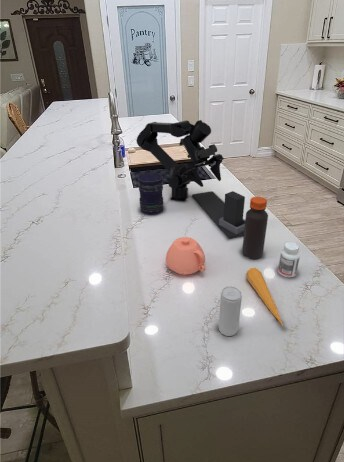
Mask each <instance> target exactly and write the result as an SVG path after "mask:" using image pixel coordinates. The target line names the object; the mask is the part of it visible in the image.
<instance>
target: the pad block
mask: <svg viewBox="0 0 344 462" xmlns="http://www.w3.org/2000/svg"><path fill="white" fill-rule="evenodd" d="M245 201H246V196H245V195H243V194H240V193H238V192H236V191H234V190H232V191H229V192H227V193H224V201H223V202H224V217H223V220H225V221H226V222H228V223H230V224H232V225H233V226H235V227H239V226H241V225H242V223H243V219H244V212H245Z"/></svg>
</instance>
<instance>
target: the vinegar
mask: <svg viewBox="0 0 344 462" xmlns="http://www.w3.org/2000/svg"><path fill="white" fill-rule="evenodd" d="M267 204H268V200H267V198H265V197H263V196H253V197H251V198H250V201H249V209H248V210H247V211H246V212H245V219H244V220H245V229H244V236H243V239H242V251H241V253H242V255H243V256H244V257H246V258H248V259H251V260H257V259H260V258H262V257H263V255H264V250H265V242H266V235H267V227H268V221H269V220H268V219H269V213H268V212H267V211H266V210H267Z"/></svg>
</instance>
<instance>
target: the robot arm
mask: <svg viewBox="0 0 344 462" xmlns="http://www.w3.org/2000/svg"><path fill="white" fill-rule="evenodd" d="M158 133H159V134H160V133H161V134H170V136H172V137H175V138H180V141H179V143H178V145H179V146H180V147H182V146H184V149H185V151H186V152H187V156H186V157H187V158H188V159H190V161H189V162H186V163H180V164H179V163H177V162H176V161H175V160H174V159H173V158H172V157H171V155H169V154H168V153H167V152H166V151H165V149H163V148H162V146H160V145H159V143H158V138H157V137H158V136H159V134H158ZM211 134H212V127H211V126H210V125H209V124H208V123H206V122H204V121H202V119H199V120H197V121H195V124H194V123H193V124H192V123H191V122H190V121H189V120H188V119H187V120H182V121H176V122H159V121H158V122H157V121H152V122H149V123H147V124H146V125H145V126H144V128H143V129H142V130H141V131H140V132H139V133H138V135H137V136H136V141H135V142H136V144H137V146H138V147H139V148H140V149H141V150H144V151H146V152H149V153H150V154H151V155H152V156H153V157H154V158H155V159H156V160H157V161H158V162H159V163H160V164H161V165H162V166H163V167H164V168H165V169H166V170H167V171H168V172H169V177H170V179H169V180H168V181H167V184H168V187H170V188H171V197H170V200H171V201H179V202H185V201H187V199H188V197H189V187H188V185H189V184H191V181H193V182H194V183H195V184H197V185H198V186H199V187H200V188H203V187H204V183H203V181H202V178H201V177H200V175H199V172H198V169H200V168H203V167H206V166H208V167H210V168H209V170H210V172H211V173H212V174H213V175H214V177H215V178H216V180H217V181H218V182H221V181H222V177H221V176H222V174H221V164H222V163H223V161H224V157H223V155H222V154H221V153H218V154H216V153H217V152H218V148H217V146H216V144H214V143H213V144H209V145H208V147H207V148H205V147H204V146H201V144H200V143H203V142H204V141H205V140H206V139H207V138H208V137H209V136H210V135H211ZM182 137H183V138H182Z"/></svg>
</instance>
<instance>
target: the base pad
mask: <svg viewBox="0 0 344 462" xmlns="http://www.w3.org/2000/svg"><path fill="white" fill-rule="evenodd" d="M191 197H192V198H193V199H194V200H195V201H196V203H197V204H198V205H199V207H200V208H201V209H202V210H203V211H204V212H205V213H206V214H207V216H208V217H209V218H210V219H211V220H212V222H213V223H214V224H215V225H216V226H217V228H219V230H220V231H221V232H222V233H223V234H224V235H225V237H226V238H227V239H228V240H231V239H236V238H242V237H244V229H245V219H244V218H243V223H242V225H241V226H239V227H235V226H233V225H232V224H230V223H228V222H226V221H225V220H223V217H224V202H225V201H223V200H222V199H221V198H220V197H219V196H218V195H217V194H216V193H215V192H214V191H212V190H211V191H206V192H205V191H204V192H198V193H193V194H191Z"/></svg>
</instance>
